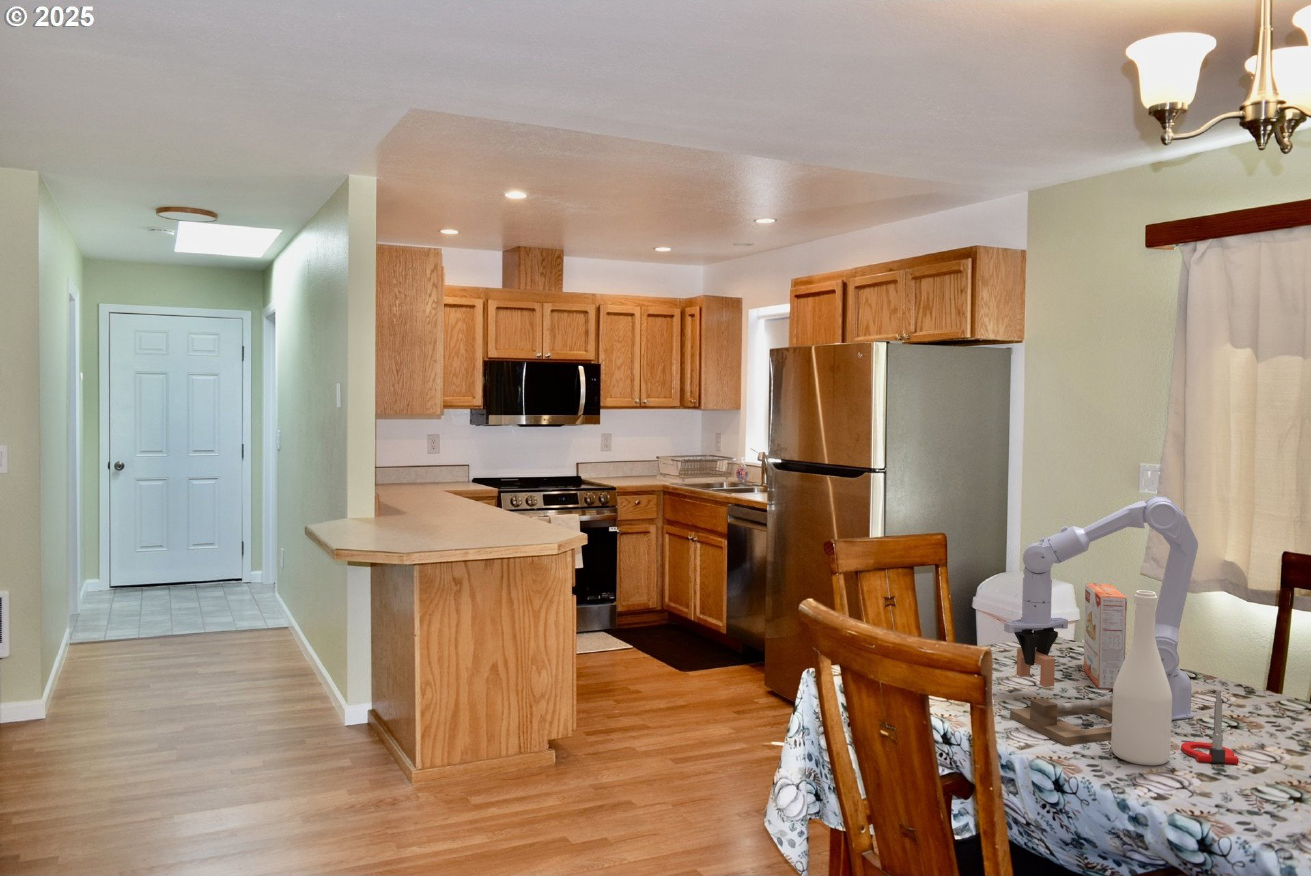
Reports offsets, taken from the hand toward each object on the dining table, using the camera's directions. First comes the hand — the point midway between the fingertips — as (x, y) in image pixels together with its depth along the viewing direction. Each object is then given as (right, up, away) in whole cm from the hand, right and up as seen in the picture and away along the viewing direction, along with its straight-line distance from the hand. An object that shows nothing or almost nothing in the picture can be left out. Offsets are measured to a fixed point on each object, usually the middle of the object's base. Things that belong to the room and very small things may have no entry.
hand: (1035, 663), depth 208 cm
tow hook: (+20, -10, -30) cm, 37 cm away
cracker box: (+21, -7, +14) cm, 26 cm away
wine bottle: (+7, -10, -31) cm, 33 cm away
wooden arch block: (0, -4, 0) cm, 4 cm away
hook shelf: (+5, -9, -15) cm, 18 cm away
